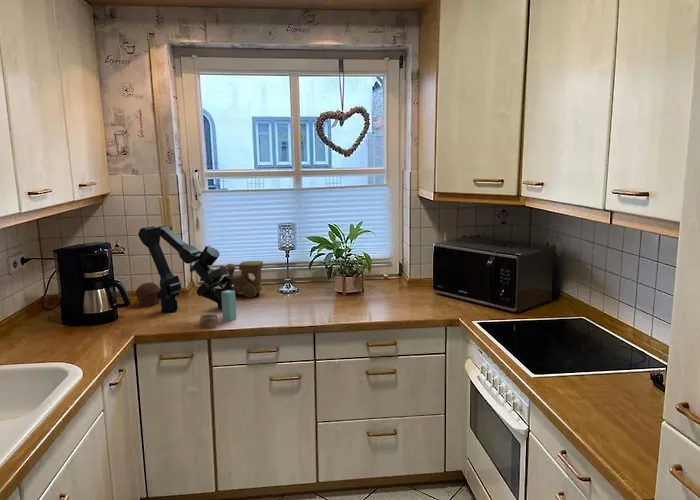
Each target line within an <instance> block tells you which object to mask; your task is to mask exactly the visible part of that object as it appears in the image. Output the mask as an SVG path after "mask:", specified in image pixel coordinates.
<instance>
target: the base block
mask: <svg viewBox="0 0 700 500" xmlns="http://www.w3.org/2000/svg"><path fill="white" fill-rule="evenodd" d="M217 326H218V314H216V313H215V314H202V315H201V316H200V318H199V327H200V329H216V328H217Z"/></svg>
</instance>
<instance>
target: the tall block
mask: <svg viewBox="0 0 700 500" xmlns="http://www.w3.org/2000/svg"><path fill="white" fill-rule="evenodd" d="M221 296H222V309H221V310H222V320H223V321H228V322H232V321H234V320H236V319H237V304H236V303H237V302H236V300H237V299H236V293H235V291H231V290H226V291H223V292H221Z"/></svg>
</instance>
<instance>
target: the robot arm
mask: <svg viewBox="0 0 700 500" xmlns="http://www.w3.org/2000/svg"><path fill="white" fill-rule="evenodd" d="M137 235H138V237H139V239H140V241H141V242H142V244H143V245H144V246H146V247H147V248H148V250H149V253H150V256H151V258H152V261H153V262H154V266H155V268H156V270H157V273H158V275H159V278H160V281H159V288H160V291H159V292H158V293H157V294H156V295H157V298H158V299H159V300H160V306H161V311H160V313H161V314H162V313H163V314H165V313H176V312H177V310H178V309H179V300H178V299H177V297H178V296H180V293H181V290H182V282H181V281H180V278H179V276H178V275H174V274H173V273H172V271H171V269H170V267H169V266H170V265H169V264H168V261H167V260H166V256H165V254H164V252H163V250H162V247H161V244H160V242H161V238H162V239H163V241H165V242H167V244H169V245H170V246H171V247H172V248H173V249H175V251H176V252H177V253H178V255H179V258H180V259H181V260H182V261H183V262H184V264H187V265H189V264H190V268H189V272H190V273H193V272H195V273H196V274H197V275H198V276H199V278H200V279H199V281H200V282H201V284H200V286H198V288H197V289H196V294H197V295H198V297H202V298H206V299H208V300H210V299H211V300H210V301H212V300H213V302H214V301H215V303H216V302H217V303H219V304H220V303H221V302H222V301H221V300H220V298H219V297H218V296H217V294H216V293H215V287H218V286H220V287H221V288H223V289H222V290H223V291H226V290H231V291H233V288H232V282H233V279H234V278H233V276H232V275H229V273H228V268H227V267H226V266H227V265H225V264H223V265H221V266H219V267H218V268H216V269H212V268H211V267H210V266H212V265H214V264H215V262H216V261H217V260H218V258H219V257H220V252H219V250H218V249H216V248H215V247H211V245H206V246H204V248H203V251H201V250H200V249H198V248H196V247H195V246H194V245H192V244H191V245H190V244H188V243H187V242H185V241H184V240H183V239H182V238H180V237H179V236H178V235H177V234H176V233H174V232H173V230H171V229H170V227H169V226H167V225H162V226H157V227H156V226H154V225H153V226H146V227H142V228H140V229H139V231H138V233H137ZM192 263H193V264H192ZM191 264H192V265H191ZM224 275H225V276H224ZM226 275H227V276H226ZM202 282H203V283H202ZM217 303H216V304H217Z"/></svg>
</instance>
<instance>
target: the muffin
mask: <svg viewBox="0 0 700 500" xmlns="http://www.w3.org/2000/svg"><path fill="white" fill-rule="evenodd" d="M160 289H161V288H160V285H158V284H157V283H154V282H145V283H142V284H141V285H139V286H138V287H137V288H136V290H135V292H134V293H135V295H136V298H137V301H138V306H139V307H142V306H150V307H154V306H153V305H155V306H157V305H156V304H158V305H159V304H160V299H158V298H157V295H156V294H157V293H158V292H159V291H160Z"/></svg>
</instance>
